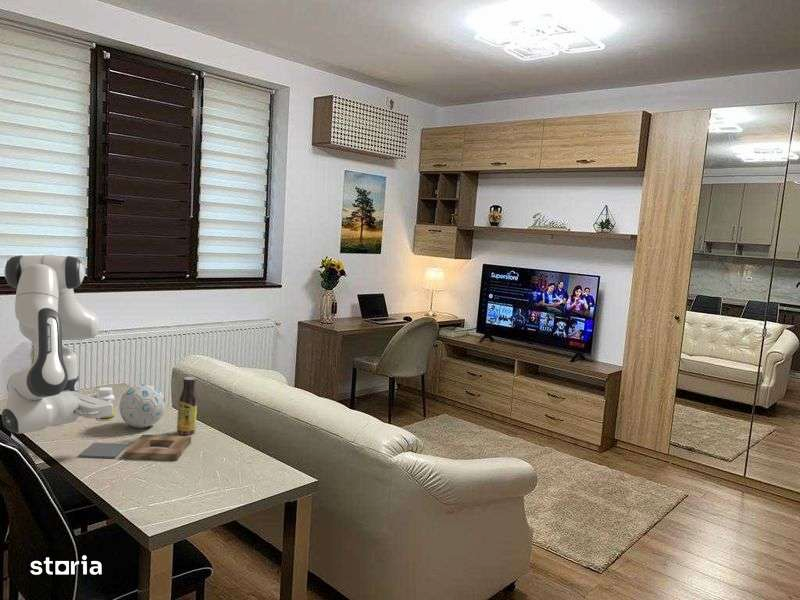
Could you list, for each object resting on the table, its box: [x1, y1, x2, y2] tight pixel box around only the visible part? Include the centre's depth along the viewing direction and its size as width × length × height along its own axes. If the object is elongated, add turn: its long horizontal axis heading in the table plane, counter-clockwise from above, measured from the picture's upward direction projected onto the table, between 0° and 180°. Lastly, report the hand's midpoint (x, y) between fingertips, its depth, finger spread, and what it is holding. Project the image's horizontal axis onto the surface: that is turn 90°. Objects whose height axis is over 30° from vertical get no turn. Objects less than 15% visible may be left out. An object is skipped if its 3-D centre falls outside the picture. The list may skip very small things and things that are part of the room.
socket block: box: [123, 434, 192, 461], centre depth 197 cm, size 16×16×2 cm
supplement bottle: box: [94, 386, 116, 422], centre depth 191 cm, size 5×5×10 cm
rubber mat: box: [78, 442, 130, 459], centre depth 193 cm, size 11×11×1 cm
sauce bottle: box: [176, 376, 198, 436], centre depth 213 cm, size 7×6×20 cm
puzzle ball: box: [118, 384, 166, 429], centre depth 217 cm, size 15×15×15 cm
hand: (107, 399), depth 192 cm, fingers closed on supplement bottle, 5 cm apart
